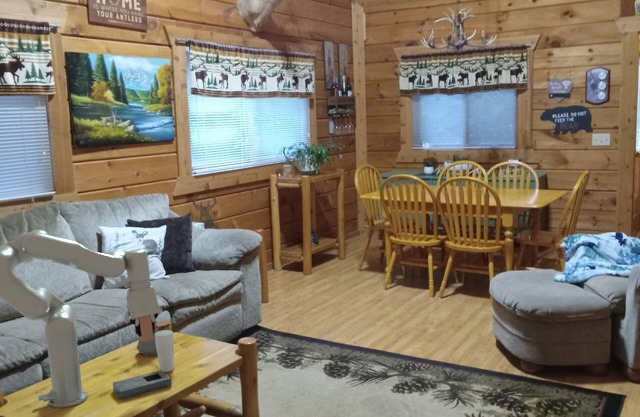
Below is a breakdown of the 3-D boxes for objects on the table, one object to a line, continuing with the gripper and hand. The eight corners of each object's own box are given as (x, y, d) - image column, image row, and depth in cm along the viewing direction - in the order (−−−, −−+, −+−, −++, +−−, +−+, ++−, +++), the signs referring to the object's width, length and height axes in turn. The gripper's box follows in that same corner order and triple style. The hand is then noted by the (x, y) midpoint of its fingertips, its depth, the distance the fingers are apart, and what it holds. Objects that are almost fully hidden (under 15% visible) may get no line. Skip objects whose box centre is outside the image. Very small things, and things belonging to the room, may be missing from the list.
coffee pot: (131, 353, 261) (128, 318, 259) (155, 345, 270) (152, 311, 268) (161, 364, 247) (157, 328, 245) (184, 355, 256) (182, 320, 254)
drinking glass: (171, 373, 237) (168, 336, 235) (154, 373, 238) (151, 335, 236) (178, 367, 244) (175, 330, 242) (162, 366, 245) (159, 329, 243)
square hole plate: (121, 400, 216) (120, 391, 215) (113, 390, 224) (112, 382, 224) (171, 386, 226) (170, 378, 225) (162, 377, 234) (161, 370, 234)
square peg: (142, 342, 221) (139, 317, 220) (139, 339, 224) (136, 315, 223) (153, 339, 223) (150, 315, 222) (150, 336, 227) (147, 312, 225)
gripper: (118, 291, 213) (125, 342, 216) (165, 281, 222) (171, 330, 225) (113, 287, 220) (119, 337, 222) (159, 277, 228) (164, 325, 231)
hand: (145, 333), depth 224 cm, fingers closed on square peg, 4 cm apart
